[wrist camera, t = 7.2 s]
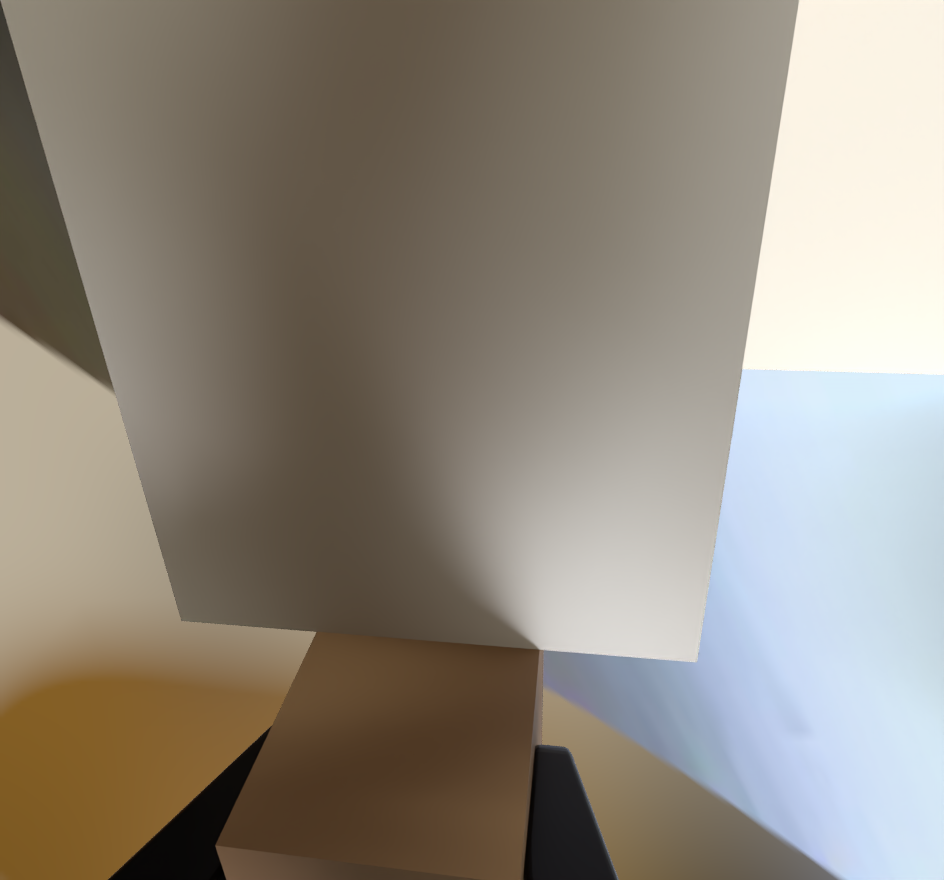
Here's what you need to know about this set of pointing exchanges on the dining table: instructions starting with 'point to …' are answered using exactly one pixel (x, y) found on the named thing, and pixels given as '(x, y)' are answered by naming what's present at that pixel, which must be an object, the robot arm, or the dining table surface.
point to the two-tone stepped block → (418, 361)
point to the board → (856, 196)
